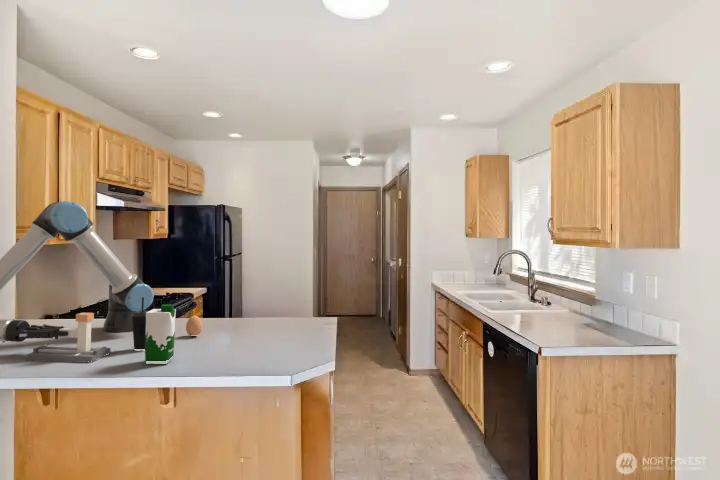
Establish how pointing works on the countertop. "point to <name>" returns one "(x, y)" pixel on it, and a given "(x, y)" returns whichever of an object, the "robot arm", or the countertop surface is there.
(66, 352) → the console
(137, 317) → the drinking cup
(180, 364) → the countertop surface
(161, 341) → the milk carton
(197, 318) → the egg
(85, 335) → the fader
